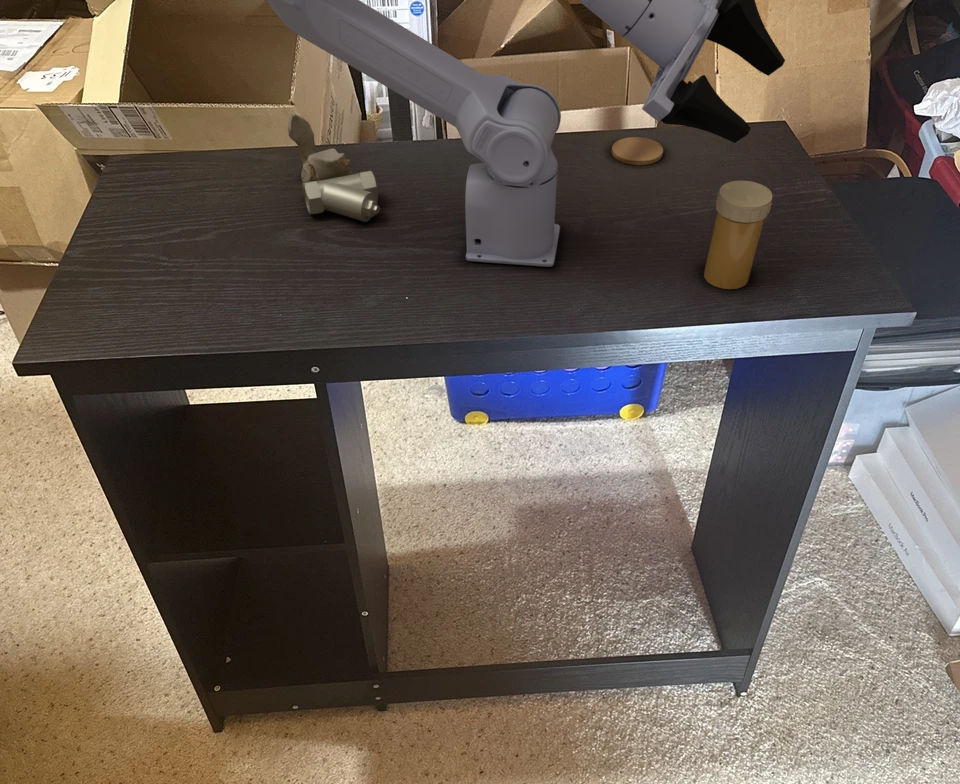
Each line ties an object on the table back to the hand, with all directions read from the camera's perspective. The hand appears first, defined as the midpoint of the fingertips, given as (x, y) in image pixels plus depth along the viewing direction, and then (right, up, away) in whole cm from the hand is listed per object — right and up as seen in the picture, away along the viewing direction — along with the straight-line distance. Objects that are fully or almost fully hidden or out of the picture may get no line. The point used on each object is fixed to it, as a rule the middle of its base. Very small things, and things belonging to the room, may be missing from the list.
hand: (759, 101), depth 75 cm
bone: (-44, +1, +26) cm, 51 cm away
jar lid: (0, -7, +5) cm, 8 cm away
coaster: (-6, +7, +30) cm, 31 cm away
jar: (0, -13, +12) cm, 17 cm away
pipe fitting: (-41, -4, +21) cm, 46 cm away
